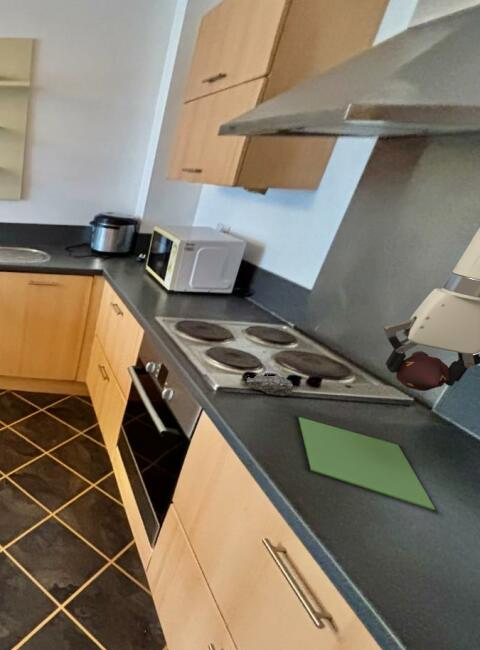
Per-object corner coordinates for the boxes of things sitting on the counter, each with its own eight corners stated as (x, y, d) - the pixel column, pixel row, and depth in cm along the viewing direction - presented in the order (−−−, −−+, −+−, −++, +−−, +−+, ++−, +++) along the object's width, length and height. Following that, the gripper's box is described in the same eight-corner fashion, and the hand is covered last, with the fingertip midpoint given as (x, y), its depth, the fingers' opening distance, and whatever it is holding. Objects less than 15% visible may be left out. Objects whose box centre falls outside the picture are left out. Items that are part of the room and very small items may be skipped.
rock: (240, 377, 115) (246, 364, 113) (283, 386, 112) (289, 373, 110) (244, 389, 109) (250, 375, 107) (289, 400, 105) (296, 385, 103)
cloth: (397, 446, 90) (398, 444, 90) (434, 510, 73) (435, 509, 73) (298, 418, 98) (299, 416, 98) (310, 470, 81) (311, 469, 80)
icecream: (479, 380, 70) (445, 357, 82) (428, 357, 73) (403, 339, 85) (442, 410, 74) (415, 385, 86) (395, 388, 76) (375, 366, 88)
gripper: (536, 293, 71) (471, 382, 79) (404, 274, 79) (357, 357, 87) (562, 304, 65) (489, 399, 73) (416, 282, 73) (364, 370, 81)
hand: (418, 375), depth 80 cm, fingers closed on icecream, 7 cm apart
